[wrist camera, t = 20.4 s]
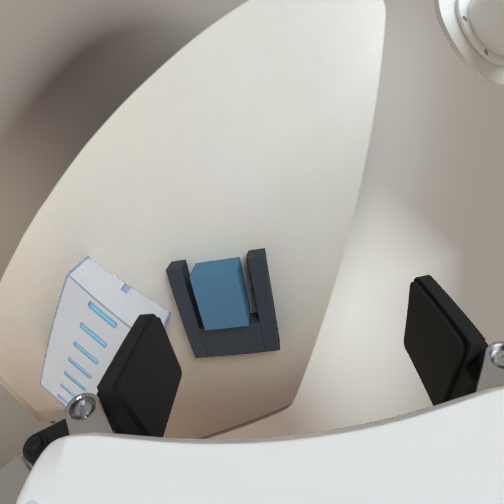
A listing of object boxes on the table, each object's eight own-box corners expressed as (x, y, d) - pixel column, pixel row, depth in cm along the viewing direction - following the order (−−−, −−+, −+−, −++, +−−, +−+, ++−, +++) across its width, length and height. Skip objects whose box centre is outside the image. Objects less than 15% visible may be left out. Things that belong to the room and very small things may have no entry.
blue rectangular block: (239, 256, 38) (237, 271, 34) (250, 308, 40) (248, 326, 37) (196, 263, 38) (189, 277, 34) (209, 313, 41) (205, 330, 37)
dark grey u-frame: (264, 248, 37) (264, 256, 35) (279, 339, 42) (280, 350, 40) (171, 261, 38) (165, 270, 36) (198, 346, 43) (195, 357, 41)
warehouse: (87, 256, 38) (59, 280, 31) (171, 312, 41) (155, 346, 34) (52, 365, 48) (35, 390, 41) (110, 404, 51) (98, 431, 44)
